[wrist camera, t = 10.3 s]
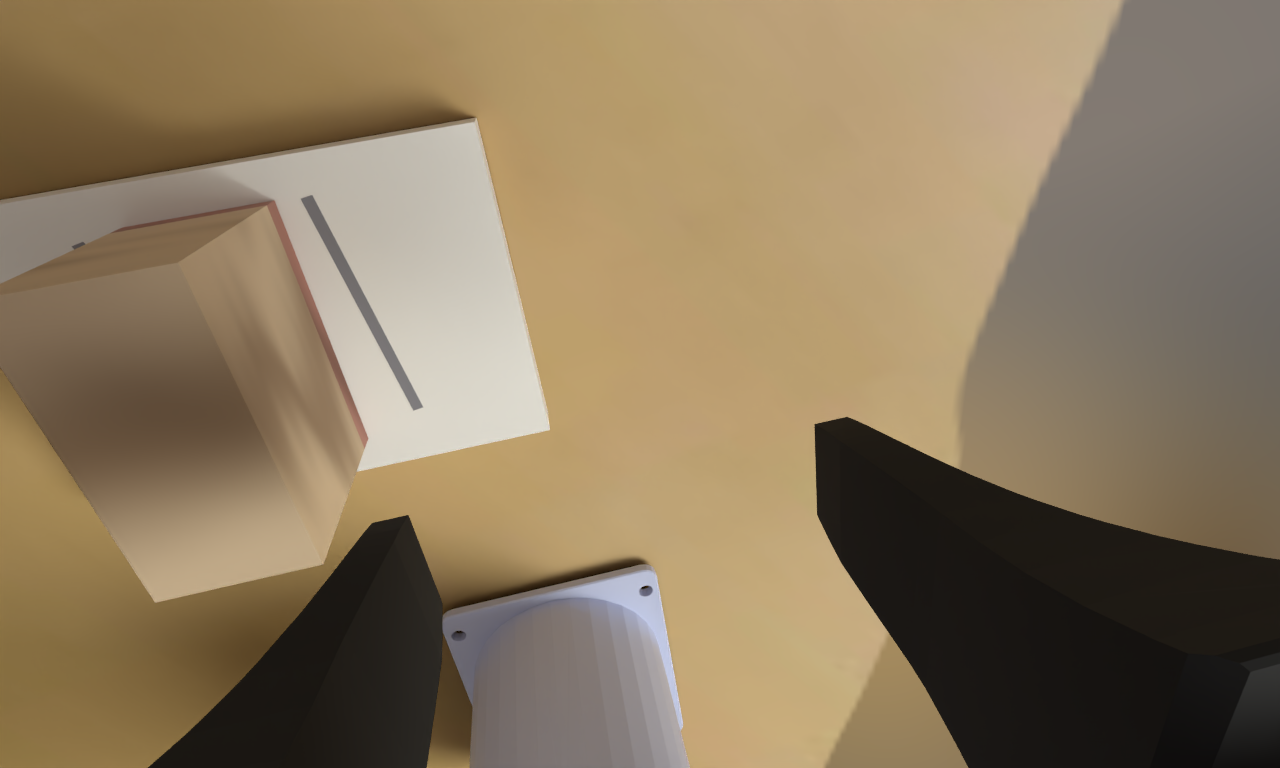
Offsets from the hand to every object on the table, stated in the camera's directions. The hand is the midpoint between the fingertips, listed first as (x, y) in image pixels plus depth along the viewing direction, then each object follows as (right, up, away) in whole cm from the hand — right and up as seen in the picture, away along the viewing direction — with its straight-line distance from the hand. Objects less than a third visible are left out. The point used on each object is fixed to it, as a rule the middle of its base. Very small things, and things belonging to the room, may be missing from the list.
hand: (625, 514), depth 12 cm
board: (-10, +4, +7) cm, 13 cm away
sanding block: (-10, +3, +6) cm, 12 cm away
